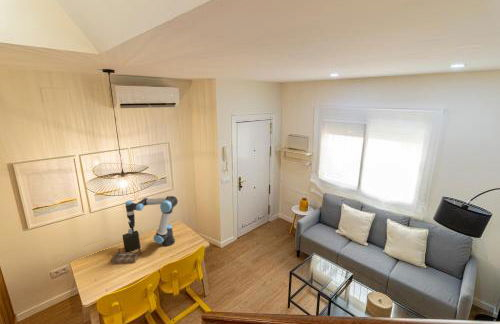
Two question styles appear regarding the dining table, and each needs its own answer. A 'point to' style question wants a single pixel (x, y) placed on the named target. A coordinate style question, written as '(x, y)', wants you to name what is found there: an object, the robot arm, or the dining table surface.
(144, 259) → the dining table surface
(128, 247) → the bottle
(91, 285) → the dining table surface
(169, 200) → the robot arm
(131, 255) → the walnut rest
